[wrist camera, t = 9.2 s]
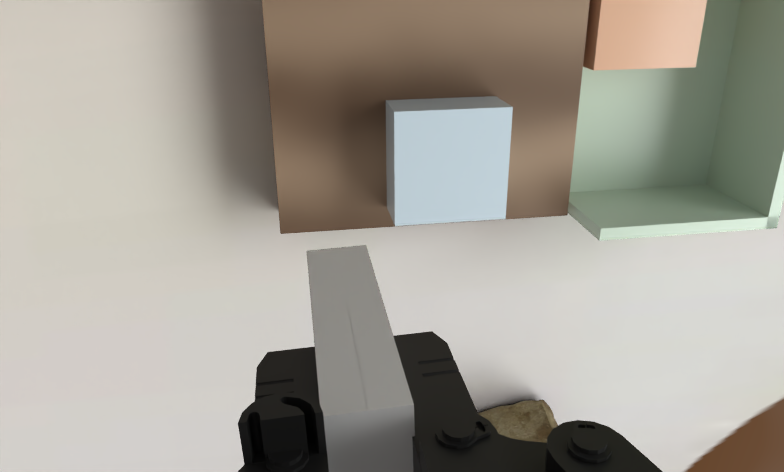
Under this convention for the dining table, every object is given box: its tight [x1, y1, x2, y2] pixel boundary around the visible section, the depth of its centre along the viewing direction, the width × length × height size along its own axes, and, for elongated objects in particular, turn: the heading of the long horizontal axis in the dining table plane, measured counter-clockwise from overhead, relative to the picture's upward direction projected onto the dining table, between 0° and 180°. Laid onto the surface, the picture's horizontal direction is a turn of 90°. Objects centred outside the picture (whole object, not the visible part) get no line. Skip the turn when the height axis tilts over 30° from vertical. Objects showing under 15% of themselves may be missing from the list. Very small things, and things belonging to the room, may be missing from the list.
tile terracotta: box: [583, 0, 707, 70], centre depth 30 cm, size 5×5×2 cm
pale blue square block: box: [386, 96, 513, 226], centre depth 29 cm, size 5×5×2 cm
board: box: [262, 0, 590, 234], centre depth 30 cm, size 13×14×3 cm
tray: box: [568, 0, 784, 241], centre depth 30 cm, size 14×9×6 cm, turn 0°
